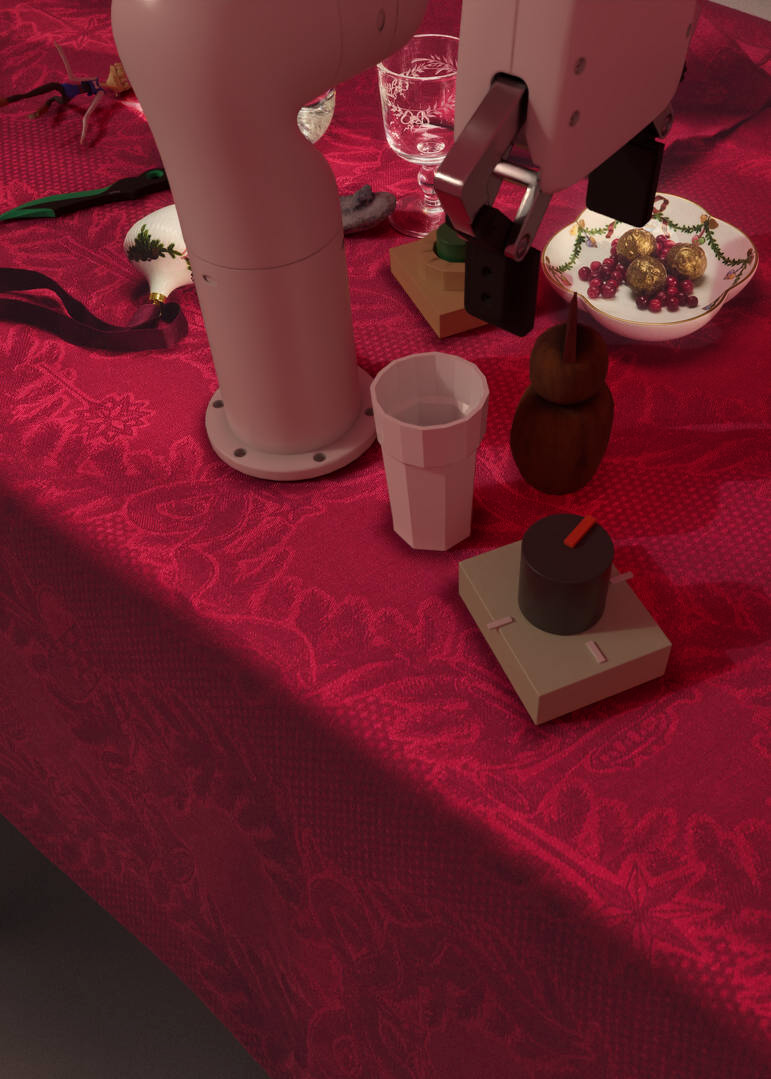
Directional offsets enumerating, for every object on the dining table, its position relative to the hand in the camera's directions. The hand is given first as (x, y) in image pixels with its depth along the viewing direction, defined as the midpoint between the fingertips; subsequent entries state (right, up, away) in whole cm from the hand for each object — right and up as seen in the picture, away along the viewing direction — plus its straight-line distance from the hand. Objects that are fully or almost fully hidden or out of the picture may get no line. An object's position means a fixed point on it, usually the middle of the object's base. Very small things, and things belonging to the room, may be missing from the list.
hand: (560, 266), depth 44 cm
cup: (-5, -11, +20) cm, 23 cm away
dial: (+2, -16, +11) cm, 19 cm away
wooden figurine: (+4, -8, +22) cm, 24 cm away
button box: (-2, +8, +36) cm, 37 cm away
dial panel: (+2, -18, +13) cm, 22 cm away
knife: (-34, +23, +51) cm, 65 cm away
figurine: (-33, +40, +62) cm, 81 cm away
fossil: (-11, +14, +40) cm, 44 cm away
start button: (-2, +10, +33) cm, 35 cm away
